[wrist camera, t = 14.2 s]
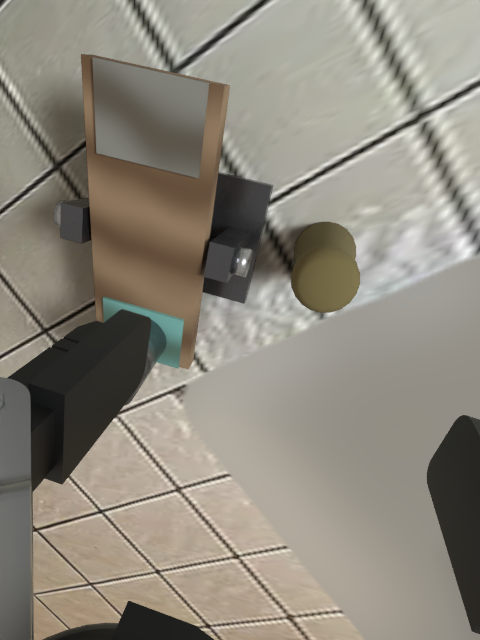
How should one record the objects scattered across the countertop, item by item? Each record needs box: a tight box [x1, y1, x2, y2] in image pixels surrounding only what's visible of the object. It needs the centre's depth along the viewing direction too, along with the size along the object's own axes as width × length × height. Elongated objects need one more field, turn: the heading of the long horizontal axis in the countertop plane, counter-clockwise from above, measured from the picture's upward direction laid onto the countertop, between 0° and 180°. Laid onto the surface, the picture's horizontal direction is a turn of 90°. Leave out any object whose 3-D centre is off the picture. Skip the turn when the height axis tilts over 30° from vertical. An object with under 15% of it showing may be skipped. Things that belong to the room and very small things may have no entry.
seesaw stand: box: [54, 172, 273, 303], centre depth 36 cm, size 12×17×9 cm
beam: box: [81, 54, 230, 369], centre depth 33 cm, size 25×10×2 cm, turn 168°
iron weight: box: [125, 320, 167, 405], centre depth 35 cm, size 5×5×7 cm
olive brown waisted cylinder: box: [291, 222, 360, 313], centre depth 33 cm, size 6×6×11 cm
